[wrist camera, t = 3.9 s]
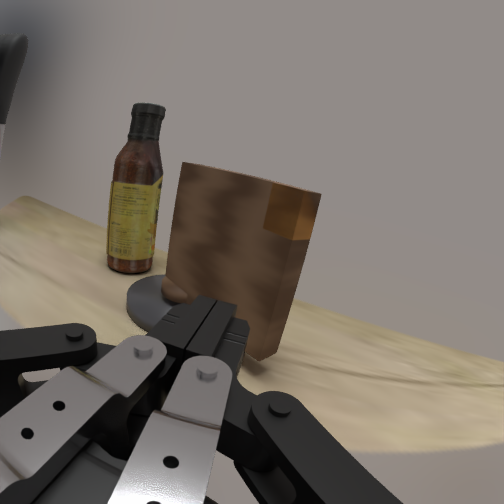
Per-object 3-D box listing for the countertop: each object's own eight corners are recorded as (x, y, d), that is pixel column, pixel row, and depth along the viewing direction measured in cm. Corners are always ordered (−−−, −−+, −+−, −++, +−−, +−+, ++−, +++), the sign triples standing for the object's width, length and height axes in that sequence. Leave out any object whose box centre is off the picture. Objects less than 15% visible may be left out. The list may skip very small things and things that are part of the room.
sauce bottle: (161, 272, 34) (188, 108, 29) (115, 278, 30) (140, 97, 24) (139, 254, 38) (161, 111, 33) (98, 257, 34) (119, 103, 28)
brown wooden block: (153, 285, 27) (169, 160, 23) (189, 280, 30) (209, 165, 27) (246, 367, 18) (292, 188, 15) (285, 347, 22) (330, 195, 18)
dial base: (104, 315, 23) (104, 301, 22) (157, 275, 33) (158, 265, 33) (220, 356, 22) (223, 343, 21) (245, 301, 32) (247, 290, 32)
